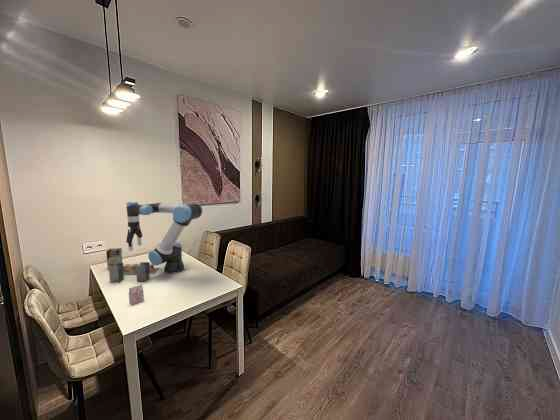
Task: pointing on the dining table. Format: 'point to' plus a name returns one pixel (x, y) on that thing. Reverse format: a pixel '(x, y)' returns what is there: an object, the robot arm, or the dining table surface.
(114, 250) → the coffee box
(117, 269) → the post
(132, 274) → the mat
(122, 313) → the dining table surface
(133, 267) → the rail
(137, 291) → the pink rectangular block
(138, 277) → the post
